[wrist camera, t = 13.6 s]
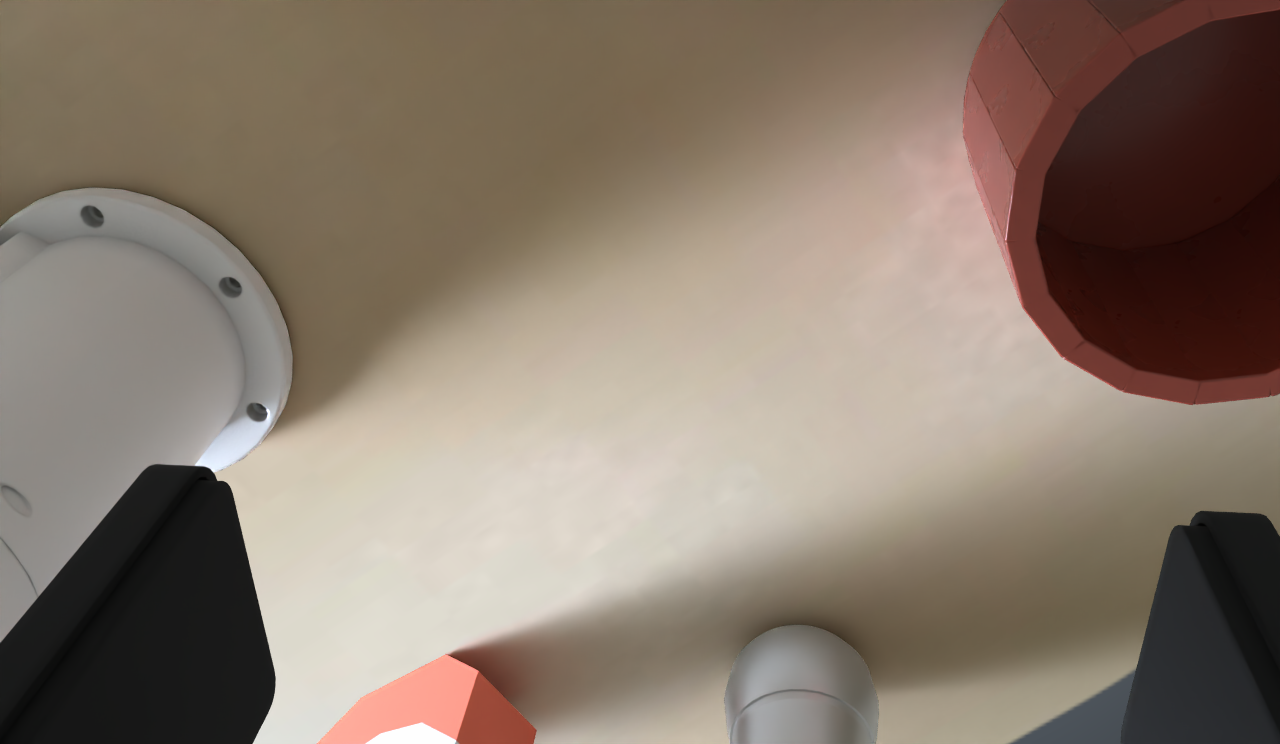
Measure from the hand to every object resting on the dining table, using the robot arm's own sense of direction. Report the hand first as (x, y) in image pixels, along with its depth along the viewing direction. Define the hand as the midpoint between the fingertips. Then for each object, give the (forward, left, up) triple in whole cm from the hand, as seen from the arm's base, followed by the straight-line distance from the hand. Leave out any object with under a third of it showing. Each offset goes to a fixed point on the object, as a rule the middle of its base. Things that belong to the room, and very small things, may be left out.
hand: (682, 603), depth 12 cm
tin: (+13, +3, -30) cm, 33 cm away
